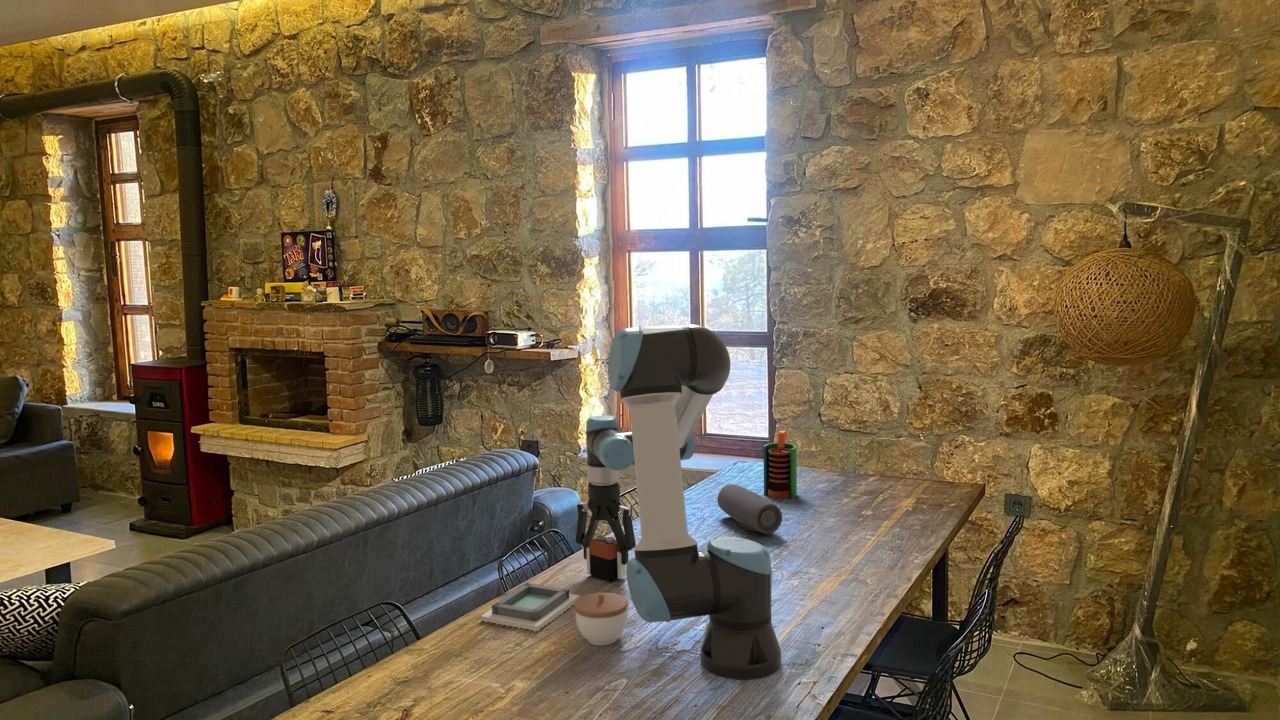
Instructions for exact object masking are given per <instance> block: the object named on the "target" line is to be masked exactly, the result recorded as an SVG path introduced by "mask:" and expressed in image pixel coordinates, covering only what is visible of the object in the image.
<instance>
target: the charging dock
mask: <svg viewBox="0 0 1280 720" xmlns="http://www.w3.org/2000/svg"><path fill="white" fill-rule="evenodd" d="M579 598H580V595H579V594H574V593H570V589H566V588H560V587H553V586H547V585H542V584H541V585H540V584H534V583H529V582H526V583H525V584H524V585H521V586H520V587H518V588H516V589H515V590H514V591H512V592H511V593H509V594H508V595H506V596H504V597H503V598H501V599H500V600H498V601H497V602H495V603H493V604H492V605H491V609H489V610H488V611H487V612H484V614H482V615H480V622H482V621H484V623H487V622H489V624H492V623H496V624H495V625H498V624H501V625H500V626H503V625H506V626H505V627H509V626H513V627H512V628H514V627H518V628H517V629H520V628H524V629H523V630H525V629H529V630H528V631H530V630H533V631H532V632H536V631H538V632H539V631H541V630H542V629H543V628H545V627H546V626H547V625H549V624H550V623H551V622H553V621H554V620H556V619H557V618H559V615H560V614H561V615H563V614H564V613H565V612H566V611H568V610H569V609H570V608H571V606H572V605H573V606H574V604H575V602H576V600H577V599H579ZM573 606H572V607H573ZM568 608H569V609H568ZM567 609H568V610H567ZM564 611H565V612H564ZM563 612H564V613H563ZM561 615H560V616H561ZM556 617H557V618H556ZM553 619H554V620H553ZM552 620H553V621H552ZM490 622H491V623H490ZM549 622H550V623H549ZM548 623H549V624H548ZM546 624H547V625H546ZM545 625H546V626H545ZM544 626H545V627H544ZM542 627H543V628H542ZM541 628H542V629H541ZM540 629H541V630H540Z"/></svg>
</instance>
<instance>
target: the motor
mask: <svg viewBox="0 0 1280 720" xmlns="http://www.w3.org/2000/svg"><path fill="white" fill-rule="evenodd" d="M777 437H778V438H777V442H771V443H767V444H766V443H765V444H764V445H763V448H762V449H763V496H768V497H769V498H772V499H777V500H783V499H785V500H786V499H795V498H797V497H798V488H797V487H798V483H797V482H798V479H797V478H798V474H797V472H798V471H797V469H798V467H797V464H798V462H797V461H798V458H797V457H798V456H797V452H798V451H797V450H798V449H797V445H795V444H793V443H790V442H789V443H788V442H786V441H785V440H786V438H788V431H787V430H779V432H778V436H777Z"/></svg>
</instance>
